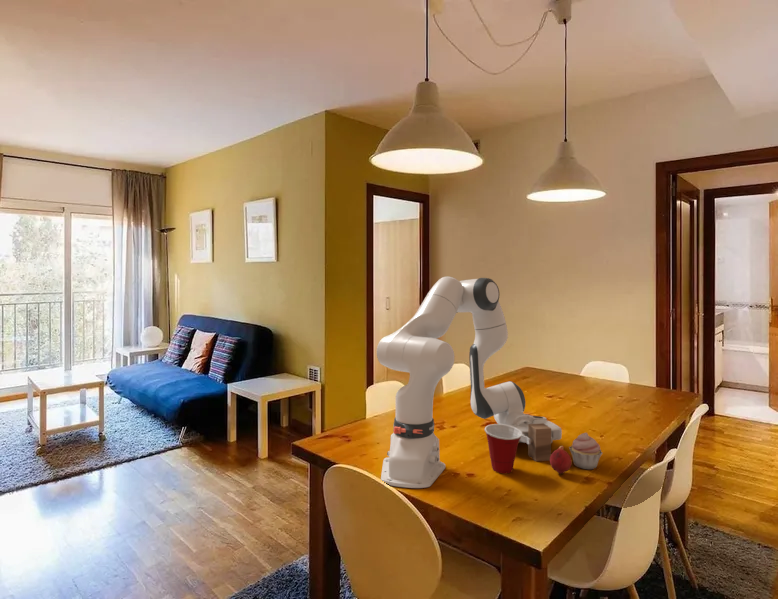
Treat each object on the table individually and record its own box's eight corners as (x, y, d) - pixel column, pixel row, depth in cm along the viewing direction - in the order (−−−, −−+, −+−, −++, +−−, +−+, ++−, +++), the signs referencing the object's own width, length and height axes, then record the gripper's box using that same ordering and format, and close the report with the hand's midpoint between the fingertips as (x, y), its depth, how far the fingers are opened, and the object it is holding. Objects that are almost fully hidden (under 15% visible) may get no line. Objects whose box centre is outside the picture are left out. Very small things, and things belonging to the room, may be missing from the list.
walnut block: (550, 460, 144) (551, 428, 143) (535, 461, 143) (535, 429, 143) (542, 454, 149) (543, 423, 148) (528, 455, 148) (528, 424, 148)
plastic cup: (505, 481, 129) (505, 438, 129) (476, 468, 138) (476, 428, 138) (530, 471, 136) (530, 430, 135) (500, 459, 145) (501, 421, 144)
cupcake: (608, 472, 135) (608, 438, 135) (575, 471, 135) (576, 438, 135) (594, 459, 145) (595, 427, 144) (564, 459, 145) (564, 427, 144)
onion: (563, 479, 130) (563, 451, 130) (545, 472, 135) (545, 445, 134) (575, 474, 134) (575, 447, 133) (557, 468, 138) (557, 441, 138)
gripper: (492, 419, 157) (509, 433, 143) (548, 416, 160) (570, 429, 146) (491, 438, 157) (509, 453, 143) (548, 434, 160) (570, 449, 147)
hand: (540, 441), depth 145 cm, fingers closed on walnut block, 5 cm apart
